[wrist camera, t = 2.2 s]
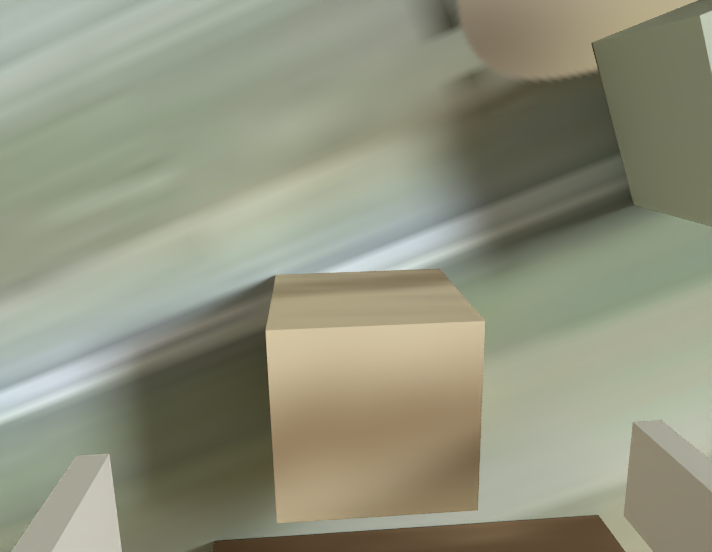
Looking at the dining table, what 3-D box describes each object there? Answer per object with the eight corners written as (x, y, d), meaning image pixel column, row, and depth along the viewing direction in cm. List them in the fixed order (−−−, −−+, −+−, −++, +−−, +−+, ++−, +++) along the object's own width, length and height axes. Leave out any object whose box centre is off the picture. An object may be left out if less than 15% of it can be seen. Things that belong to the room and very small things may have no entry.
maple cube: (276, 274, 22) (265, 330, 16) (439, 268, 23) (484, 320, 17) (283, 423, 24) (276, 523, 18) (436, 415, 24) (477, 510, 18)
